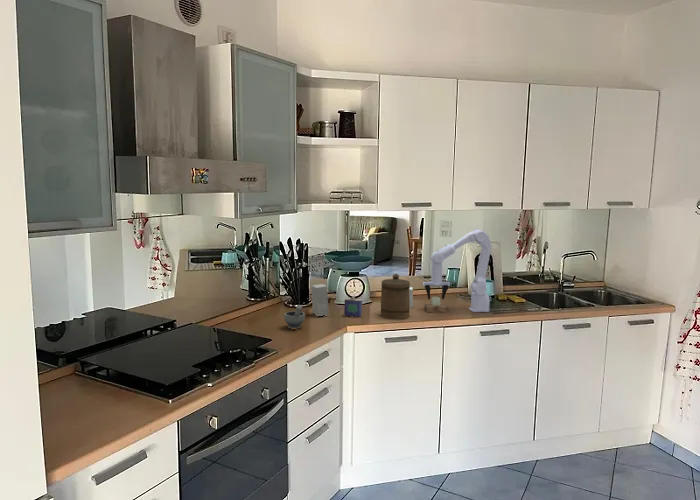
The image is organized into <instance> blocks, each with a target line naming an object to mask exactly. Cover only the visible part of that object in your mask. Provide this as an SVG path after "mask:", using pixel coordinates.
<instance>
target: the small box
mask: <svg viewBox="0 0 700 500" xmlns="http://www.w3.org/2000/svg"><path fill="white" fill-rule="evenodd" d="M413 288H414V287H413V286H412V287H411V286H410V308H411V309H412V308H413V307H414V306H413V305H414V302H413V301H414V289H413ZM410 308H409V309H410Z"/></svg>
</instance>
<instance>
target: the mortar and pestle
mask: <svg viewBox="0 0 700 500" xmlns="http://www.w3.org/2000/svg"><path fill="white" fill-rule="evenodd" d="M302 309H303V306H302V305H301V304H298V305H296V309H295V310H292V311H287V312H285V313H283V315H284V316H283V317H284V321H285V323H286V324H287V328H288V327H290V328H299V327H301V328H302V324H303V323H304V322H305V319H306V313H305V312H303V311H302Z"/></svg>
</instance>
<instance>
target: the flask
mask: <svg viewBox="0 0 700 500" xmlns="http://www.w3.org/2000/svg"><path fill="white" fill-rule="evenodd" d="M355 298H356V296H355V295H353V296H351V297H347V298H344V313H343V314H344V315H345V316H344V317H346V316H353V317H352V318H362V317H363V300H362V299H355Z"/></svg>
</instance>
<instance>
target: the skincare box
mask: <svg viewBox="0 0 700 500" xmlns="http://www.w3.org/2000/svg"><path fill="white" fill-rule="evenodd" d="M328 296H329V295H328V286H327V285H326V284H323V283H319V284H311V302H312V314H313V313H314V314H315V315H317V316H323V315H329V313H330V312H329V299H328V298H329V297H328ZM314 314H313V315H314ZM315 315H314V316H315ZM317 316H316V317H317ZM329 316H330V315H329ZM323 317H324V316H323Z"/></svg>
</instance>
